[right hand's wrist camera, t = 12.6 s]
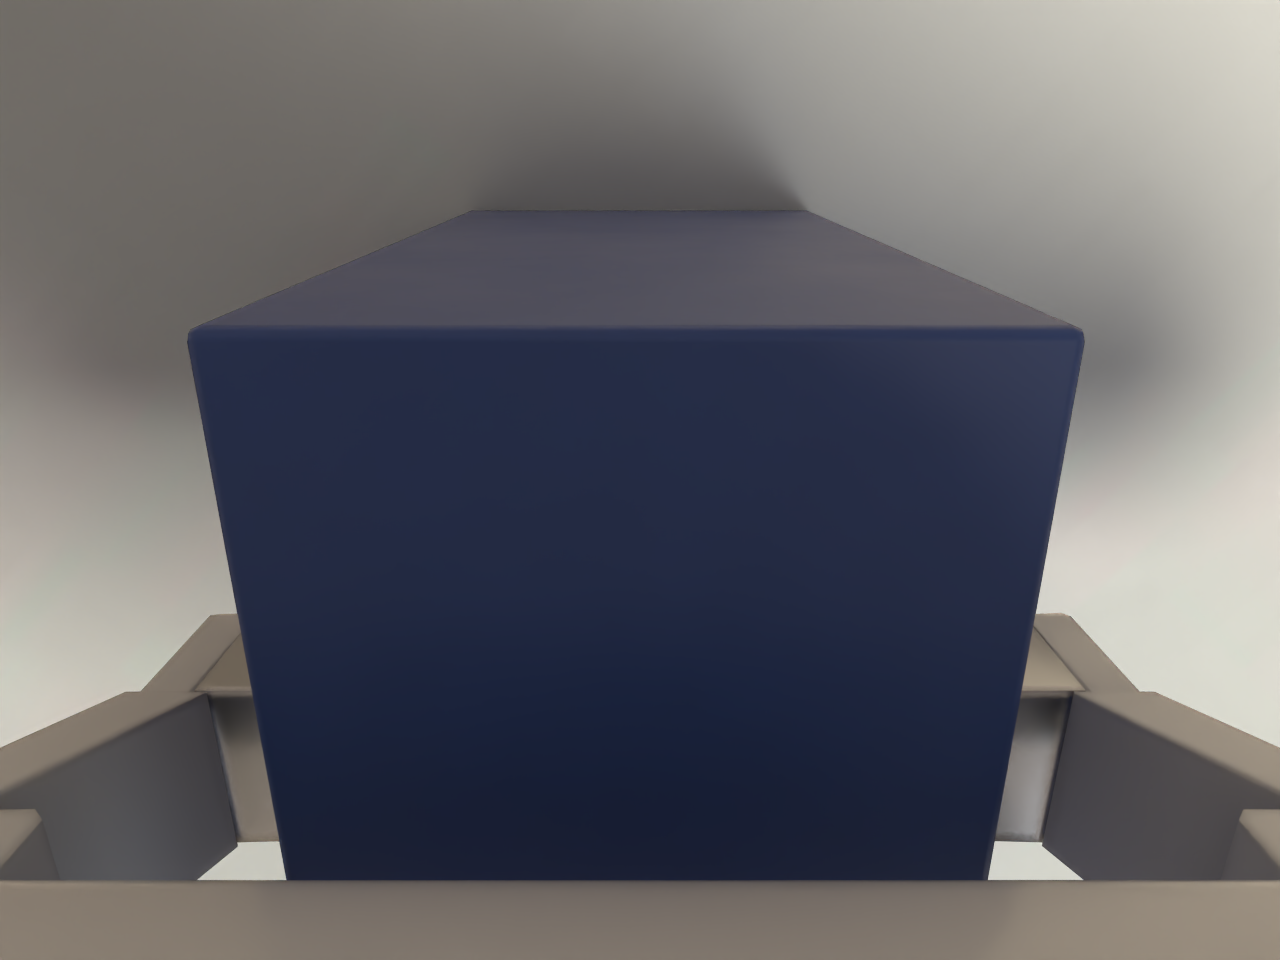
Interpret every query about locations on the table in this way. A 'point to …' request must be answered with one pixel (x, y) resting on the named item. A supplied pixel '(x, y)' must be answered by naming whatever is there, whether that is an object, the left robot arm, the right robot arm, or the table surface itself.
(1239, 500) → the table surface
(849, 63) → the table surface
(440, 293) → the bar
